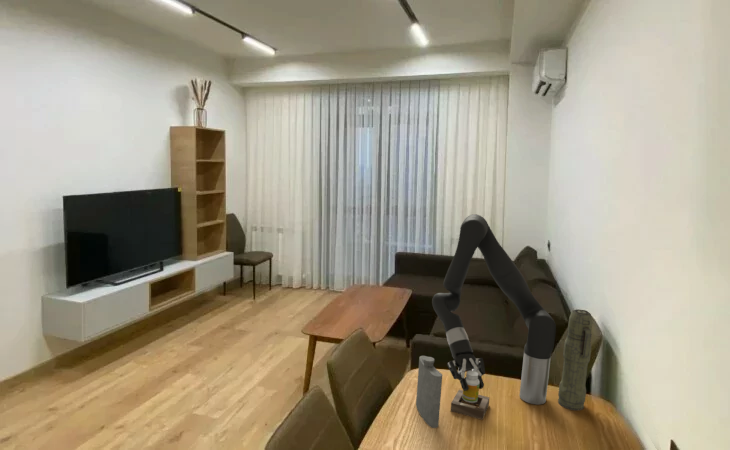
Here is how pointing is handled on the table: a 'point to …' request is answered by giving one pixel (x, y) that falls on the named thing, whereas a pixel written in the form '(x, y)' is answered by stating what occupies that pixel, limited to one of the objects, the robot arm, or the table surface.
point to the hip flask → (428, 391)
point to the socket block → (470, 406)
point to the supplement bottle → (471, 387)
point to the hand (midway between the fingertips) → (474, 389)
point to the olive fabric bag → (576, 360)
